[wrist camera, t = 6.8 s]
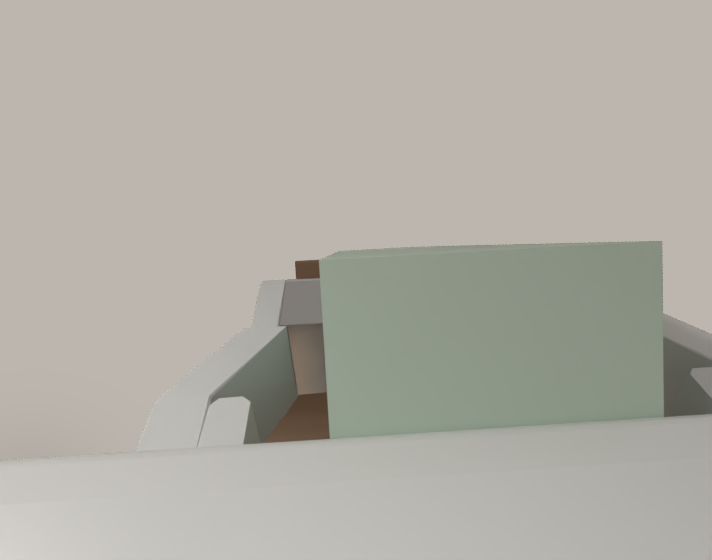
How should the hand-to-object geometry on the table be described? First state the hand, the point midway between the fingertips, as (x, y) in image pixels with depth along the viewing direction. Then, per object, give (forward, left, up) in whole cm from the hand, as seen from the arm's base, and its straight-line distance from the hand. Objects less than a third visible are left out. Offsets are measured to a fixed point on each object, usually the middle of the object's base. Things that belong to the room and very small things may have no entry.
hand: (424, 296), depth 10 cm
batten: (-4, +4, -2) cm, 6 cm away
